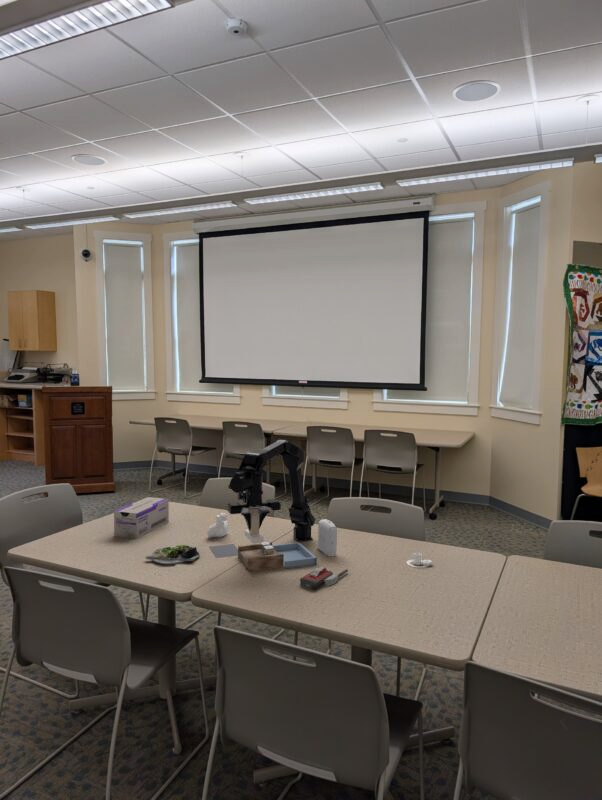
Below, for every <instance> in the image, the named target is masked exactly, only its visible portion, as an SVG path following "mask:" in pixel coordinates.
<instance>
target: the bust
mask: <svg viewBox="0 0 602 800" xmlns="http://www.w3.org/2000/svg"><path fill="white" fill-rule="evenodd" d="M214 519H215V520H216V521H215V522H214V523H213V524H211V525H210V526H209V528H207V529H208V530H207V533H206V535H207V537H208V539H211V538H223V537H225V536H226V534H227V533H228V529H229V528H228V527H229V525H230V524H229V523H228V521H227V519H228V515H227V513H226V512H219V513H218V514H217V515H215V516H214Z"/></svg>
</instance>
